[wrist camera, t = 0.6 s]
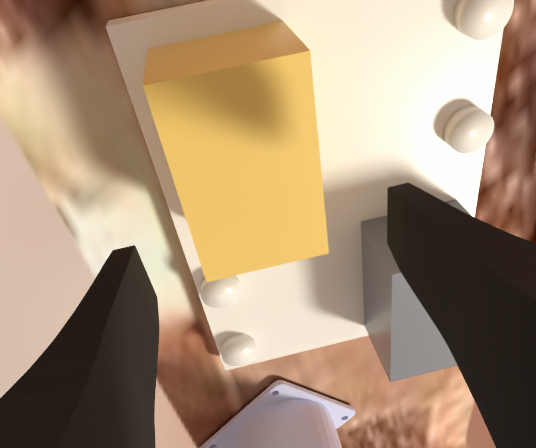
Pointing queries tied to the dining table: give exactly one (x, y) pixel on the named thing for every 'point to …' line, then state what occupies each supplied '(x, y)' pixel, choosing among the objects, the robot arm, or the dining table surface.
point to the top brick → (242, 146)
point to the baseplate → (339, 143)
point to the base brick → (397, 310)
